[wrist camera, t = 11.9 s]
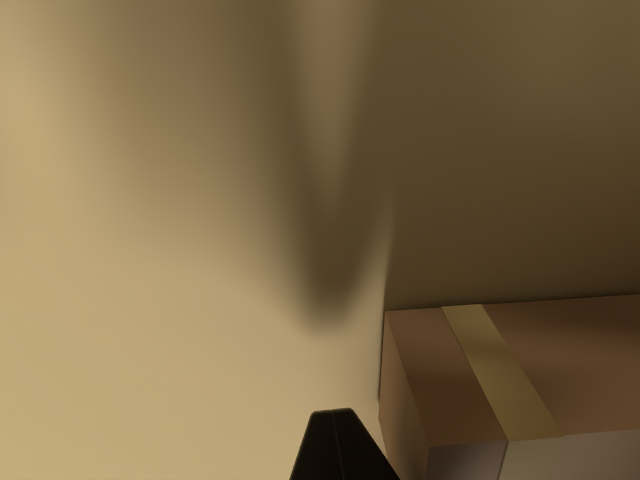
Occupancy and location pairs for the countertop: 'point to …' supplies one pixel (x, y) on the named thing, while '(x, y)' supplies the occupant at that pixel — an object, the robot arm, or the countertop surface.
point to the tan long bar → (513, 390)
